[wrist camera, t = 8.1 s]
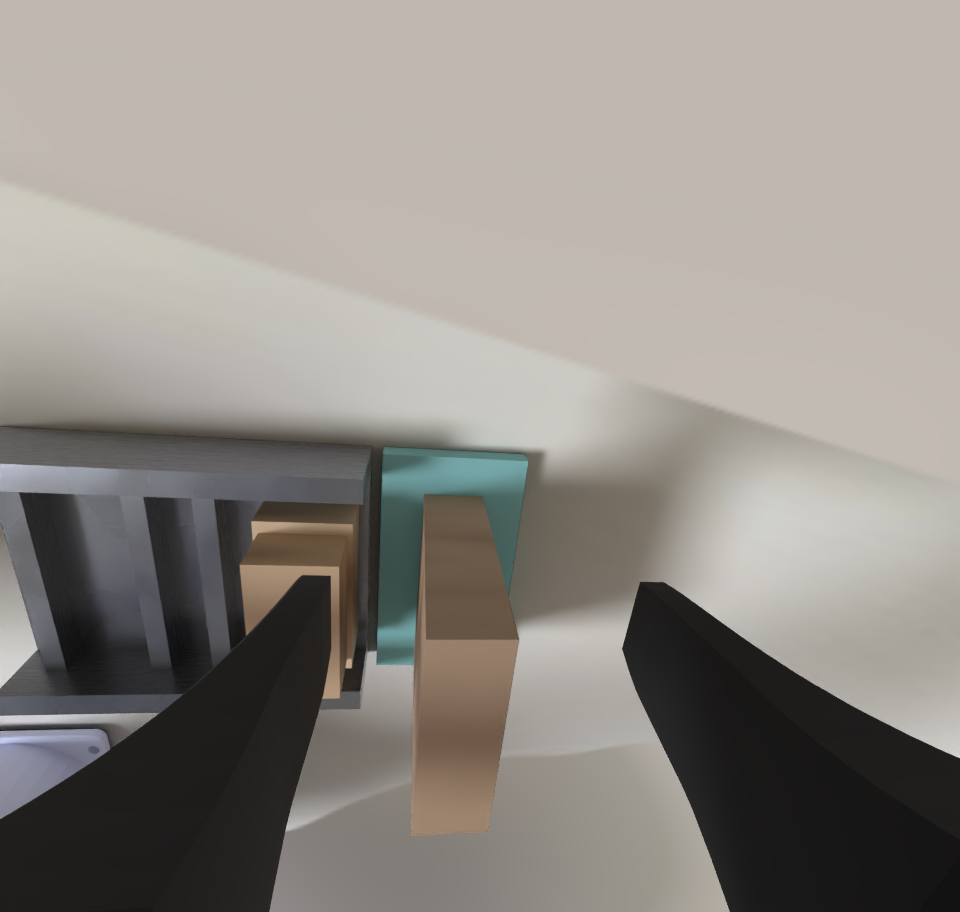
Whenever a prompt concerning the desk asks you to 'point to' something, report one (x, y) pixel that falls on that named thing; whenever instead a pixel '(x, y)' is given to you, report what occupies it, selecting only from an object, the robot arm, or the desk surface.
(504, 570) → the teal mat
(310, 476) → the rack
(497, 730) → the walnut panel
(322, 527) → the offcut lower
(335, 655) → the offcut upper
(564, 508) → the desk surface
